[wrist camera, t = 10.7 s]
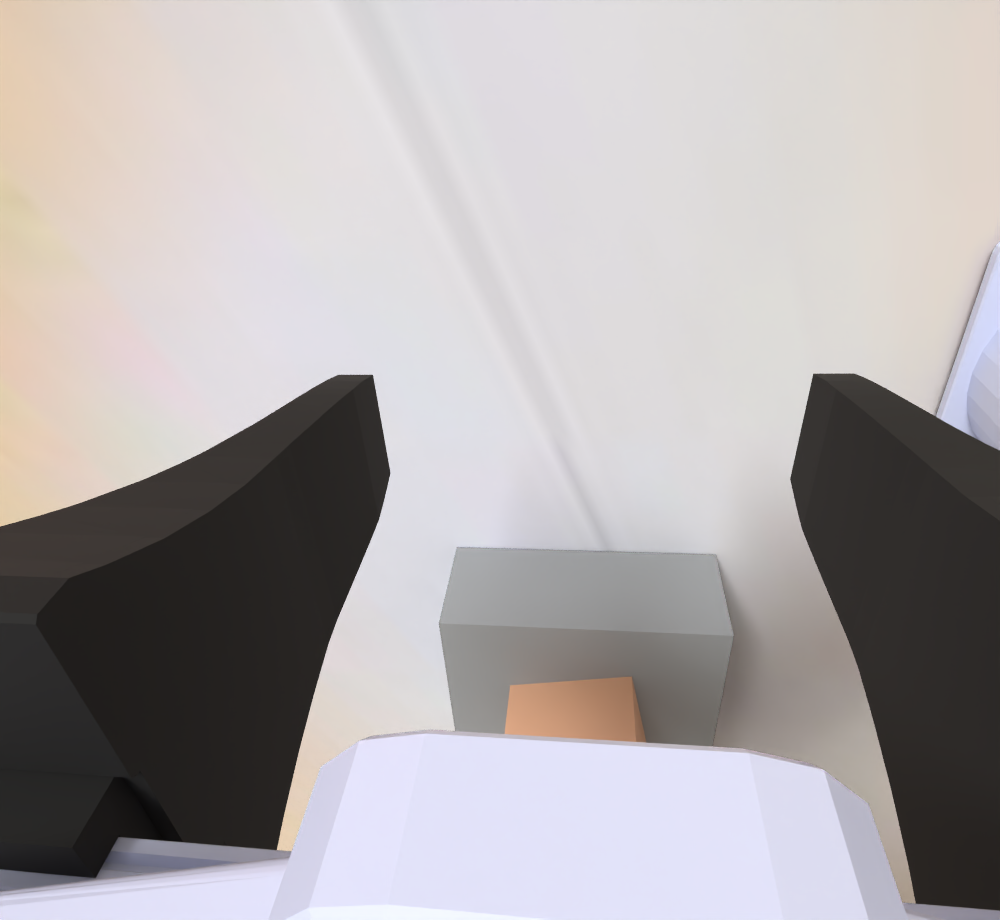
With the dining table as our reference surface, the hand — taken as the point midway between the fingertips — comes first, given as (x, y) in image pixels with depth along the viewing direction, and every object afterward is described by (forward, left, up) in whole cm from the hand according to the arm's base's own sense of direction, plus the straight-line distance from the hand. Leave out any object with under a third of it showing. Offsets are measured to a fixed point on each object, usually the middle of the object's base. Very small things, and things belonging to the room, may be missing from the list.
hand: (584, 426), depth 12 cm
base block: (0, +17, -10) cm, 20 cm away
